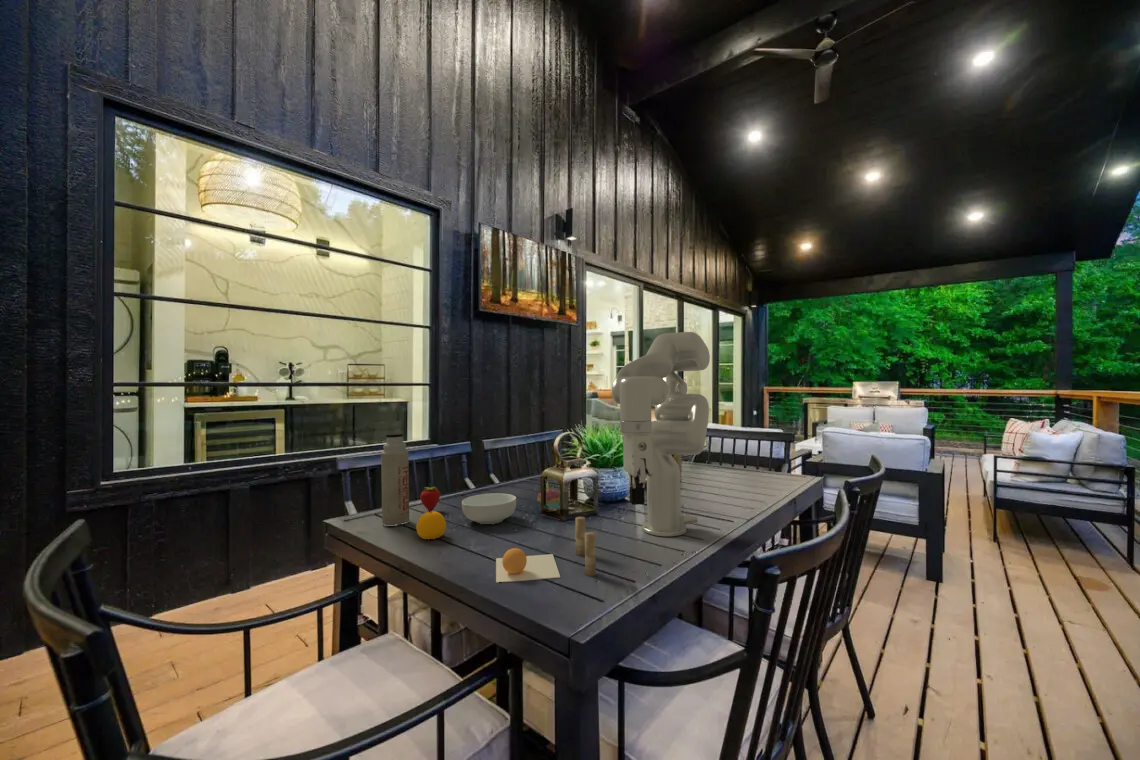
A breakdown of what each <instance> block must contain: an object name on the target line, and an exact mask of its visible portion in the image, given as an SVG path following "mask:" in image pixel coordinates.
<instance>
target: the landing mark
mask: <svg viewBox="0 0 1140 760" xmlns="http://www.w3.org/2000/svg"><path fill="white" fill-rule="evenodd" d="M526 558H527V563H526V566H525V568H524V569H523V571H521V572H520V573H518V574H510V573H508V572H507V571H506V570H505V569H504V567H503V564H502V560H503V557H497V558H496V559H495V583H496V584H500V583H499V582H502V583H512V582H524V581H536V580H538V581H539V580H548V579H561V575H560V572H559V569H558V566H557V563H556V560H555V557H554V554H553V553H552V554H551V553H550V554H538V555H535V554H534V555H526Z"/></svg>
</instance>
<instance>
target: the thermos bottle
mask: <svg viewBox="0 0 1140 760" xmlns="http://www.w3.org/2000/svg"><path fill="white" fill-rule="evenodd" d="M403 436H404V434H403V433H400V432H397V433H396V432H395V433H387V434H385V437H386V443H384V444H383V447H382V448H383V451H381V453H380V455H381V456H380V460H381V461H380V462H381V464H380V465H381V471H380V472H381V518H382V519H381V524H382V523H383V524H385V525H395V524H401V523H405V522H408V521H409V522H410V474H409V473H410V472H409V471H410V467H409V450H407V444H406V443H405V442H404V437H403Z"/></svg>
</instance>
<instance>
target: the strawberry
mask: <svg viewBox="0 0 1140 760" xmlns="http://www.w3.org/2000/svg"><path fill="white" fill-rule="evenodd" d="M419 497H420V498H419V499H420V501H421V504H422V505H423V506H424V507H425V508H426V509H427V512H429V511H432V510H433V511H435V510H434V509H435V508H436V507H437V505H438V503H439V501H440V497H441V493H440V491H439V489H438V487H436V486H432V484H430V487H429V486H426V487H425V486H424V489H423V491H422V492H421V493H420V496H419Z"/></svg>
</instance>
